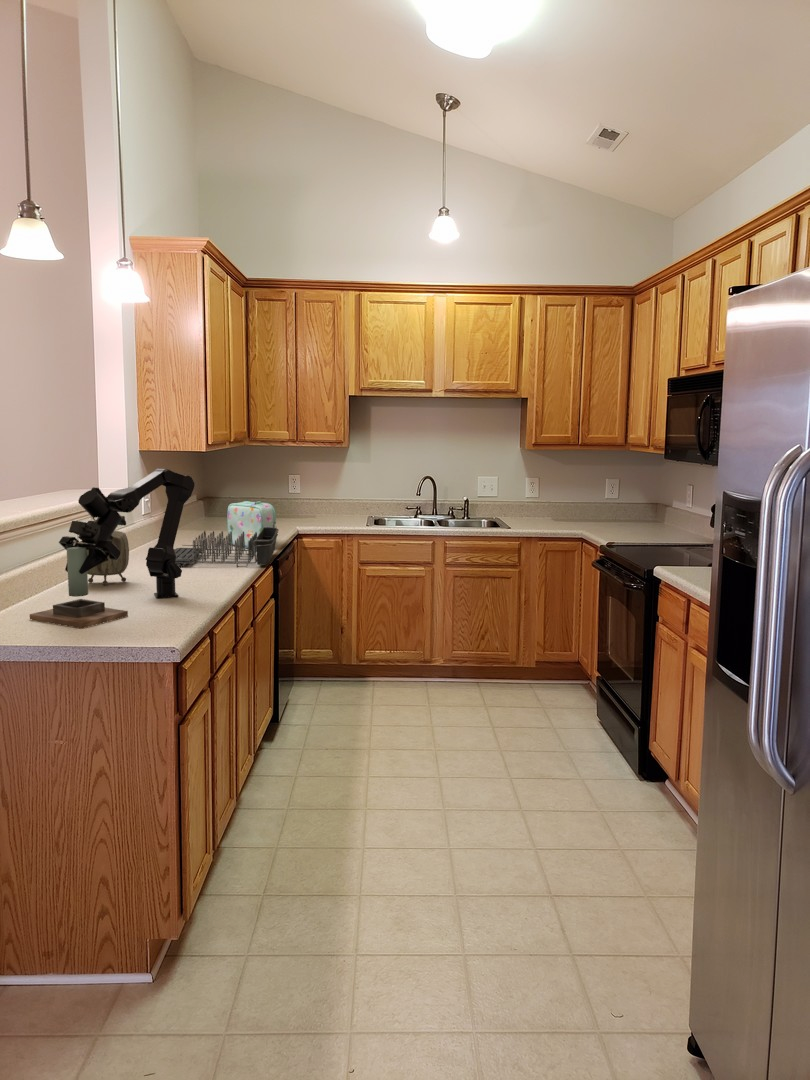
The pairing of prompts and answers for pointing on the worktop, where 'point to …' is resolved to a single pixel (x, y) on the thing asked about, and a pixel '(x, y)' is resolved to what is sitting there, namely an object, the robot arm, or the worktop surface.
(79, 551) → the grey-green canister
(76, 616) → the walnut seat board
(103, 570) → the tabletop clock
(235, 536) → the lunch box
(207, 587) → the worktop surface
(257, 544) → the dish rack
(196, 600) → the worktop surface
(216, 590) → the worktop surface
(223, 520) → the worktop surface
